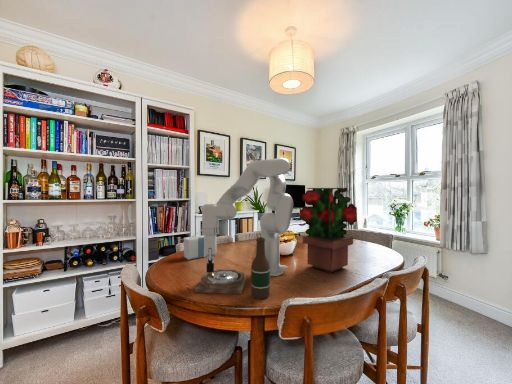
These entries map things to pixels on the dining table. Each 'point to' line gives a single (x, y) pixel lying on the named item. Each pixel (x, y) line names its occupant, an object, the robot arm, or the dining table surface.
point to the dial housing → (222, 284)
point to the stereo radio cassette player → (195, 246)
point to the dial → (222, 276)
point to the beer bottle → (260, 272)
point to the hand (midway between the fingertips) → (210, 270)
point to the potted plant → (327, 227)
